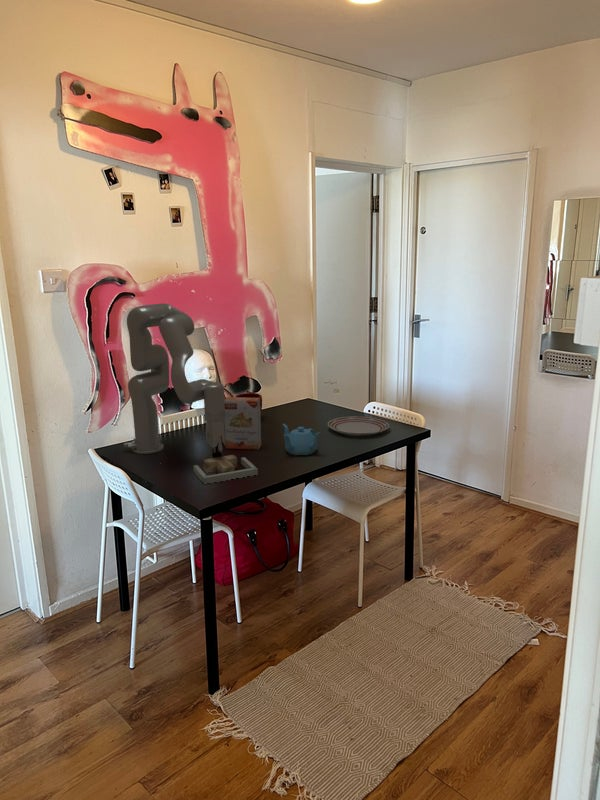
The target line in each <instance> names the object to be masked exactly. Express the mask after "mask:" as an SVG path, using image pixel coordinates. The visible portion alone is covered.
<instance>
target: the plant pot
mask: <svg viewBox="0 0 600 800" xmlns="http://www.w3.org/2000/svg"><path fill="white" fill-rule="evenodd" d="M234 397H244V398H260V416H261V418H262V414H261V412H262V410H263V409H262V408H263V396H262V394H261V393H257V392H244V393H240V394H239V393H238V394H237V395H235V396H234Z"/></svg>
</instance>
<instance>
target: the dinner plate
mask: <svg viewBox="0 0 600 800" xmlns="http://www.w3.org/2000/svg"><path fill="white" fill-rule="evenodd" d="M327 426H328V427H329V428H330V429H331V430H332V431H335V432H337V433H340V434H342V435H345V436H351V437H369V436H373V434H374V435H377V434H379V433H382V432H384V431H386V430H388V429H389V428H390V424H389V423H388V422H387V421H385V420H382V419H380V418H374V417H370V416H369V417H368V416H355V415H354V416H341V417H336V418H333V419H331V420H329V421H328V422H327Z"/></svg>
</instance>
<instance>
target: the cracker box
mask: <svg viewBox="0 0 600 800" xmlns="http://www.w3.org/2000/svg"><path fill="white" fill-rule="evenodd" d="M224 401H225V420H224V430H225V449H227V450H231V449H232V450H251V449H252V450H253V451H254V450H255V451H256V450H257V451H259V450H260V448H261V446H262V423H261V422H262V421H261V420H262V417H261V416H262V415H261V416H260V414H261V413H260V398H244V397H235V396H227V397H226V398H224ZM252 450H251V451H252Z"/></svg>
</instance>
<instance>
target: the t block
mask: <svg viewBox="0 0 600 800" xmlns="http://www.w3.org/2000/svg"><path fill="white" fill-rule="evenodd" d="M202 465H203V468H202V469H204V470H205V471H204V470H203V471H204V473H205V474H209V473H208V472H211V473H217V474H221V473H227V472H232V471H235V469H238V457H237V456H236V455H235V454H228V455H224V456H223V455H222V457H216V458H212V457H211V458H205V459H203V460H202ZM216 471H217V472H216Z"/></svg>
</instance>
